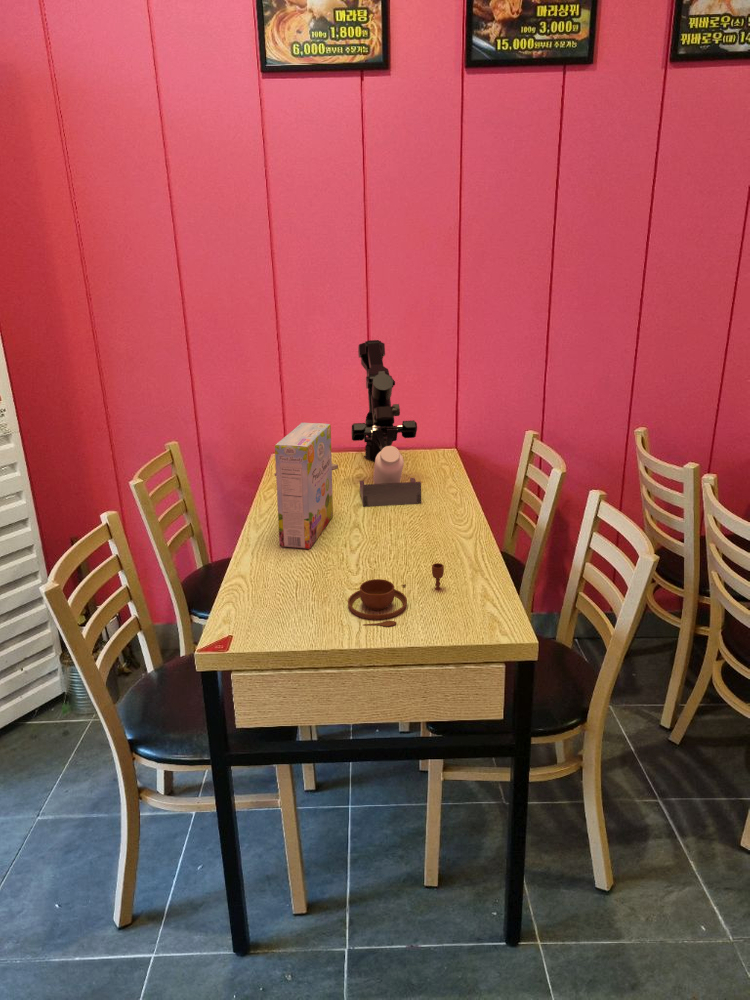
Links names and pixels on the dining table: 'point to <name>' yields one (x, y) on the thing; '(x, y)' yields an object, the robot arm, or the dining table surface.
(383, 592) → the place setting
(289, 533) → the snack box
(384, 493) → the dark wooden frame
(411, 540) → the dining table surface
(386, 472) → the pill bottle
